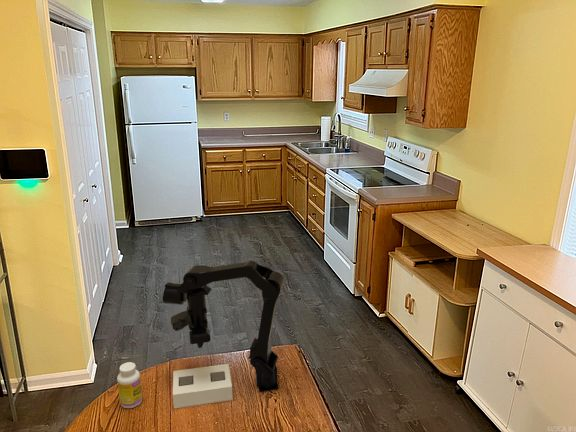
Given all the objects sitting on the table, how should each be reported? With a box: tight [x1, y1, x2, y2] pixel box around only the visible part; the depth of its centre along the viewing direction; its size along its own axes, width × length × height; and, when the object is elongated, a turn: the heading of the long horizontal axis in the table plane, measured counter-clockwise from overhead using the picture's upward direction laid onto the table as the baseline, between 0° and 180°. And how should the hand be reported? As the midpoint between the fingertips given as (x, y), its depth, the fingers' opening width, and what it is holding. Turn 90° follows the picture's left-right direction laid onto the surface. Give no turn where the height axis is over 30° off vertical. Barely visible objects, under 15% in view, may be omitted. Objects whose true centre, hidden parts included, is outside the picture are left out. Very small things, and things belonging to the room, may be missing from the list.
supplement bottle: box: [116, 361, 143, 409], centre depth 140 cm, size 7×7×13 cm
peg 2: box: [211, 372, 225, 382], centre depth 146 cm, size 4×4×5 cm
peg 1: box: [180, 376, 193, 386], centre depth 144 cm, size 4×4×5 cm
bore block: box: [172, 363, 234, 409], centre depth 145 cm, size 18×12×5 cm, turn 102°
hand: (200, 347), depth 150 cm, fingers closed
